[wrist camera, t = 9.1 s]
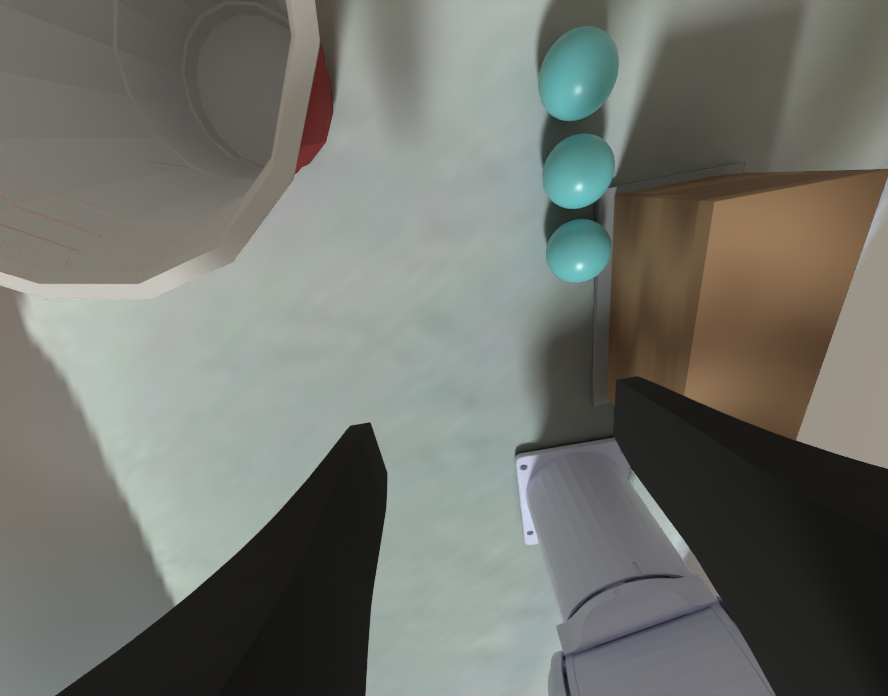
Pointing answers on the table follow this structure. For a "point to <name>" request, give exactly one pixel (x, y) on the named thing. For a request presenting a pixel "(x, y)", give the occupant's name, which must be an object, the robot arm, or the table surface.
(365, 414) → the table surface
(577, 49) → the teal egg
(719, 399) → the wooden block
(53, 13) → the plastic cup
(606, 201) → the felt mat
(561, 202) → the marble
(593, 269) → the marble
